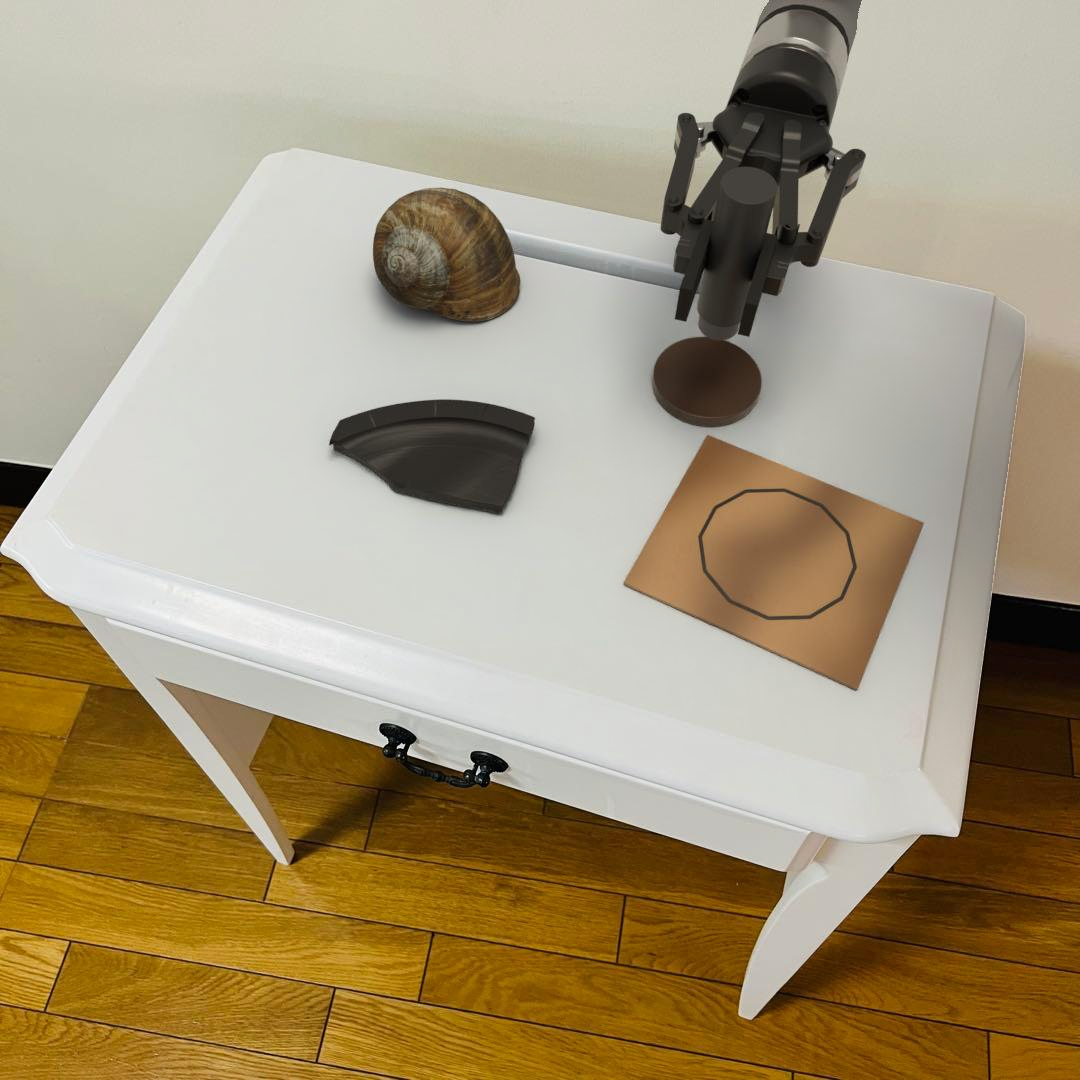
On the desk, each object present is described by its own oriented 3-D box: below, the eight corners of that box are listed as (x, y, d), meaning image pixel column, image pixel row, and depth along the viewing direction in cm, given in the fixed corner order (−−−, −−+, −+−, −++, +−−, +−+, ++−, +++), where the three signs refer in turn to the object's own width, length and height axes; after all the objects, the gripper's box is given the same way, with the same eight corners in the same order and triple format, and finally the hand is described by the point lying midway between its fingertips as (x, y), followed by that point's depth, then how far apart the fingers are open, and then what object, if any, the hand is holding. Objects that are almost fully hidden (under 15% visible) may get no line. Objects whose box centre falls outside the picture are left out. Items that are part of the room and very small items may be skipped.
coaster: (775, 368, 79) (777, 359, 78) (735, 442, 75) (737, 433, 74) (678, 331, 81) (679, 322, 80) (634, 401, 77) (635, 392, 76)
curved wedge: (362, 387, 77) (359, 372, 76) (538, 428, 76) (538, 414, 74) (319, 474, 73) (315, 460, 72) (504, 520, 71) (504, 506, 70)
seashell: (358, 311, 82) (343, 230, 75) (406, 234, 86) (396, 152, 80) (493, 347, 80) (490, 268, 73) (534, 267, 84) (535, 185, 78)
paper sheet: (922, 524, 71) (924, 521, 71) (856, 690, 65) (858, 688, 64) (706, 437, 75) (707, 433, 75) (623, 584, 69) (623, 582, 68)
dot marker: (749, 318, 73) (785, 177, 63) (731, 350, 72) (765, 210, 61) (705, 301, 74) (733, 159, 64) (686, 333, 72) (712, 192, 62)
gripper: (883, 158, 78) (832, 385, 66) (671, 114, 81) (584, 324, 69) (915, 66, 72) (864, 298, 60) (683, 22, 75) (590, 235, 63)
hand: (715, 311), depth 64 cm, fingers closed on dot marker, 3 cm apart
